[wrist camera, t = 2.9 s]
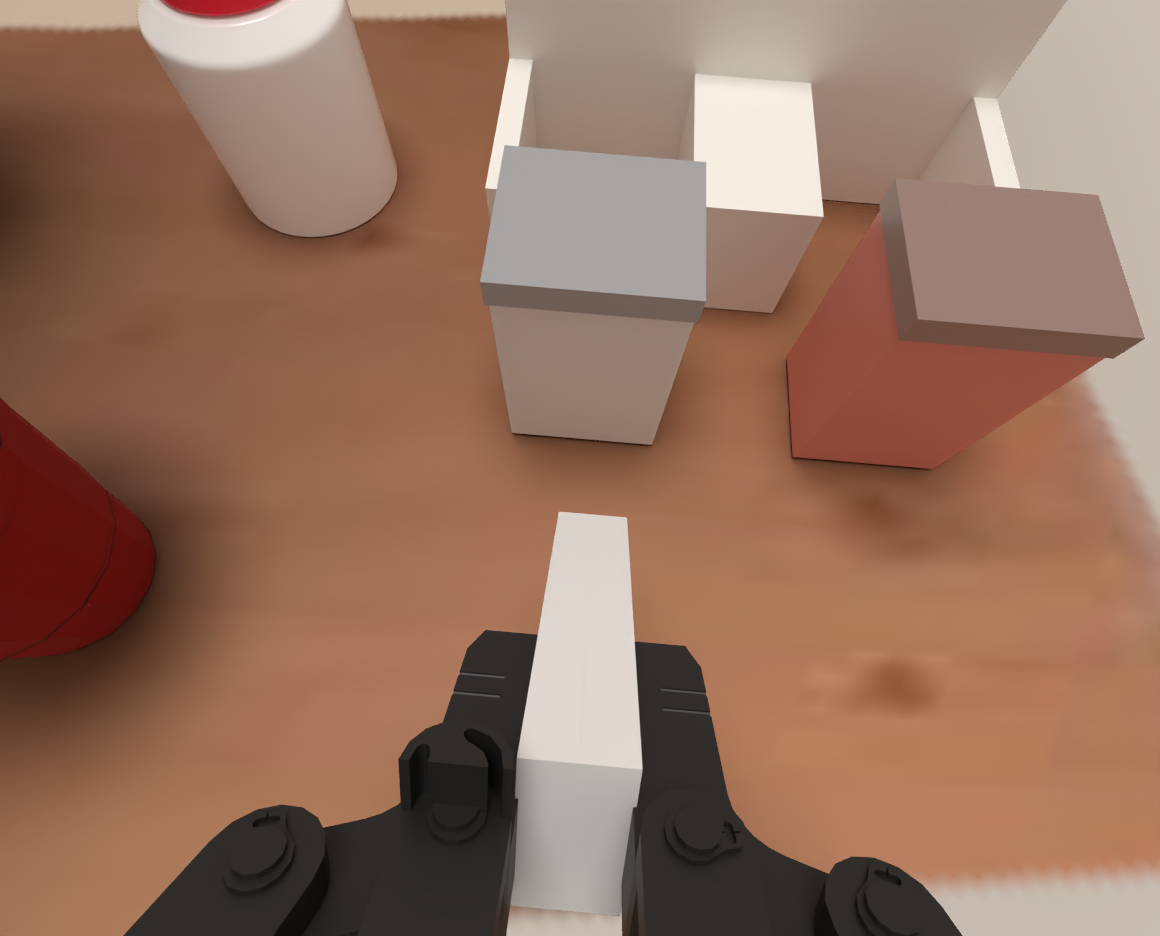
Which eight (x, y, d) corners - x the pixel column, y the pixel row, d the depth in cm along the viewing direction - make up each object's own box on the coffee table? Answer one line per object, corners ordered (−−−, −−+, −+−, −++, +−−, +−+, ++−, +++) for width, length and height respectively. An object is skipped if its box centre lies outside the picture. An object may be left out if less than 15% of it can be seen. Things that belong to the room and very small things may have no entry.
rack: (500, 289, 28) (470, 87, 19) (523, 146, 32) (508, -83, 23) (940, 327, 28) (1123, 142, 19) (914, 179, 32) (1058, -38, 23)
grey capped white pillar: (509, 434, 25) (480, 281, 16) (523, 332, 27) (504, 145, 18) (654, 447, 25) (706, 301, 16) (658, 343, 27) (706, 161, 18)
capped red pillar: (790, 458, 25) (917, 319, 16) (784, 354, 27) (895, 178, 18) (935, 471, 25) (1144, 338, 16) (919, 366, 27) (1098, 195, 18)
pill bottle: (429, 180, 31) (364, -79, 21) (306, 264, 29) (166, 19, 19) (336, 105, 33) (235, -167, 23) (213, 178, 31) (40, -87, 20)
